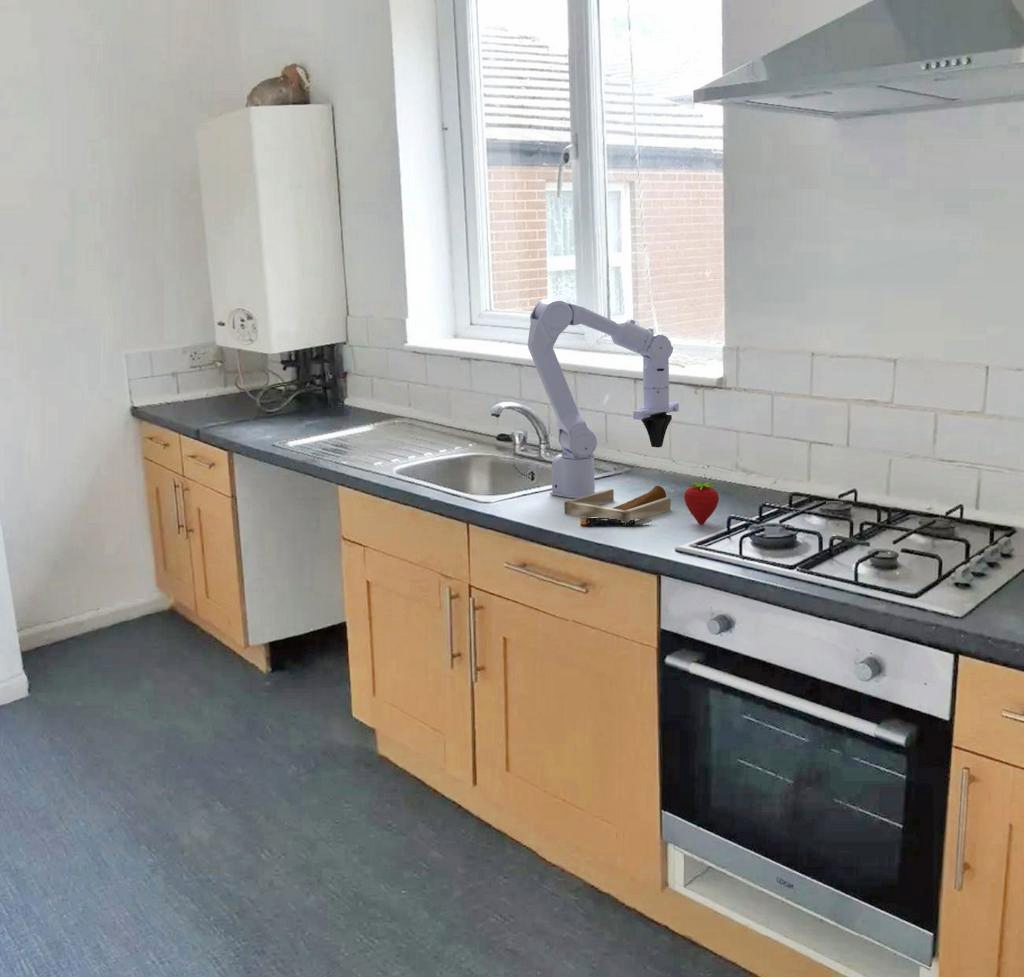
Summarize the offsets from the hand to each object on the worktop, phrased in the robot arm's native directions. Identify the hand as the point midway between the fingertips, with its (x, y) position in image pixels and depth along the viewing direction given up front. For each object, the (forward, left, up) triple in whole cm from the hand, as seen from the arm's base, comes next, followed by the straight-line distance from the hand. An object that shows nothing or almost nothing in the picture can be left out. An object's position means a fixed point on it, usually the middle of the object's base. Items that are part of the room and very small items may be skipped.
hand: (656, 446), depth 249 cm
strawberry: (+27, -22, -10) cm, 36 cm away
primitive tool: (+8, -19, -10) cm, 23 cm away
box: (+7, -23, -9) cm, 26 cm away
